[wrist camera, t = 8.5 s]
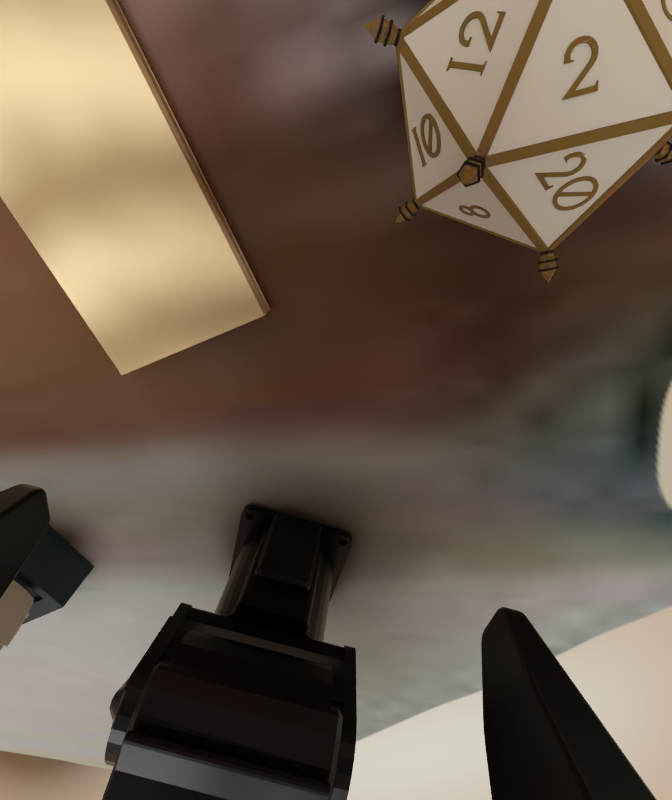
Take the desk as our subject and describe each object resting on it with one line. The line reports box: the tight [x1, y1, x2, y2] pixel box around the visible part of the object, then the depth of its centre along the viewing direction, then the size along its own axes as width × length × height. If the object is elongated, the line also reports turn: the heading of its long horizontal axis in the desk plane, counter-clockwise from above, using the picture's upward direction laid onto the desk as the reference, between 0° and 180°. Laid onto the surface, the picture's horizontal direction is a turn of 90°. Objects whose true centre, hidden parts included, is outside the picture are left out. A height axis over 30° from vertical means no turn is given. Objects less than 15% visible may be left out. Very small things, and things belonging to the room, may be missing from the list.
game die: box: [364, 0, 672, 283], centre depth 12 cm, size 9×8×10 cm
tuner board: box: [0, 0, 270, 375], centre depth 17 cm, size 18×8×1 cm, turn 24°
